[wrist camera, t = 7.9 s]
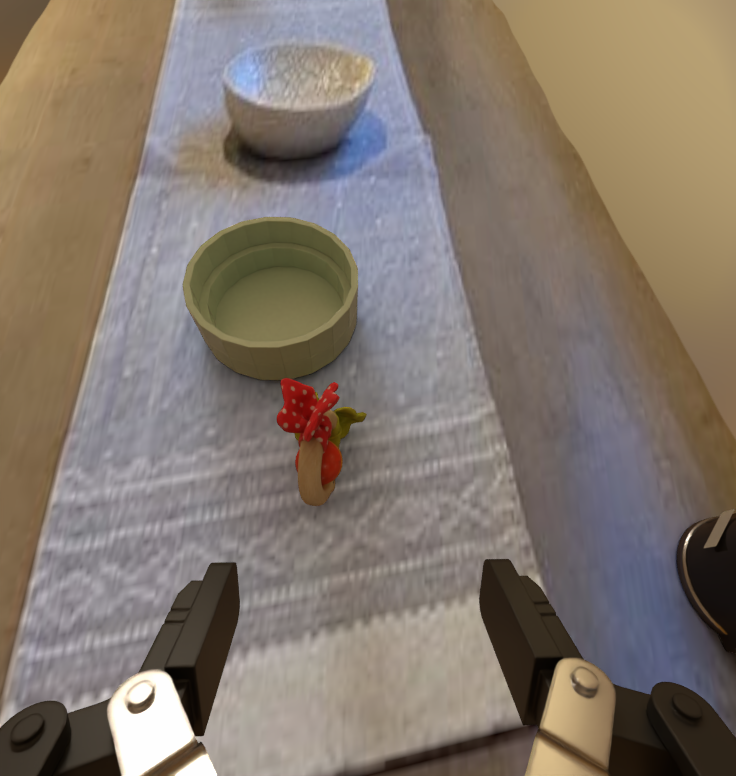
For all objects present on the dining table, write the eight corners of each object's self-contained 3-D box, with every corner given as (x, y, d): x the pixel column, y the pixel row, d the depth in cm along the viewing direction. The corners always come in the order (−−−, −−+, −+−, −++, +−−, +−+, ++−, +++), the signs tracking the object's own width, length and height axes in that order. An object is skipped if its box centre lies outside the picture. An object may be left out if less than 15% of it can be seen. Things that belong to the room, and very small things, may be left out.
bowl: (356, 383, 39) (358, 348, 34) (191, 383, 38) (167, 346, 33) (355, 263, 46) (356, 218, 41) (216, 261, 45) (199, 215, 40)
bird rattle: (363, 493, 36) (367, 390, 37) (365, 526, 25) (371, 378, 26) (291, 491, 36) (296, 387, 37) (261, 522, 25) (270, 373, 26)
